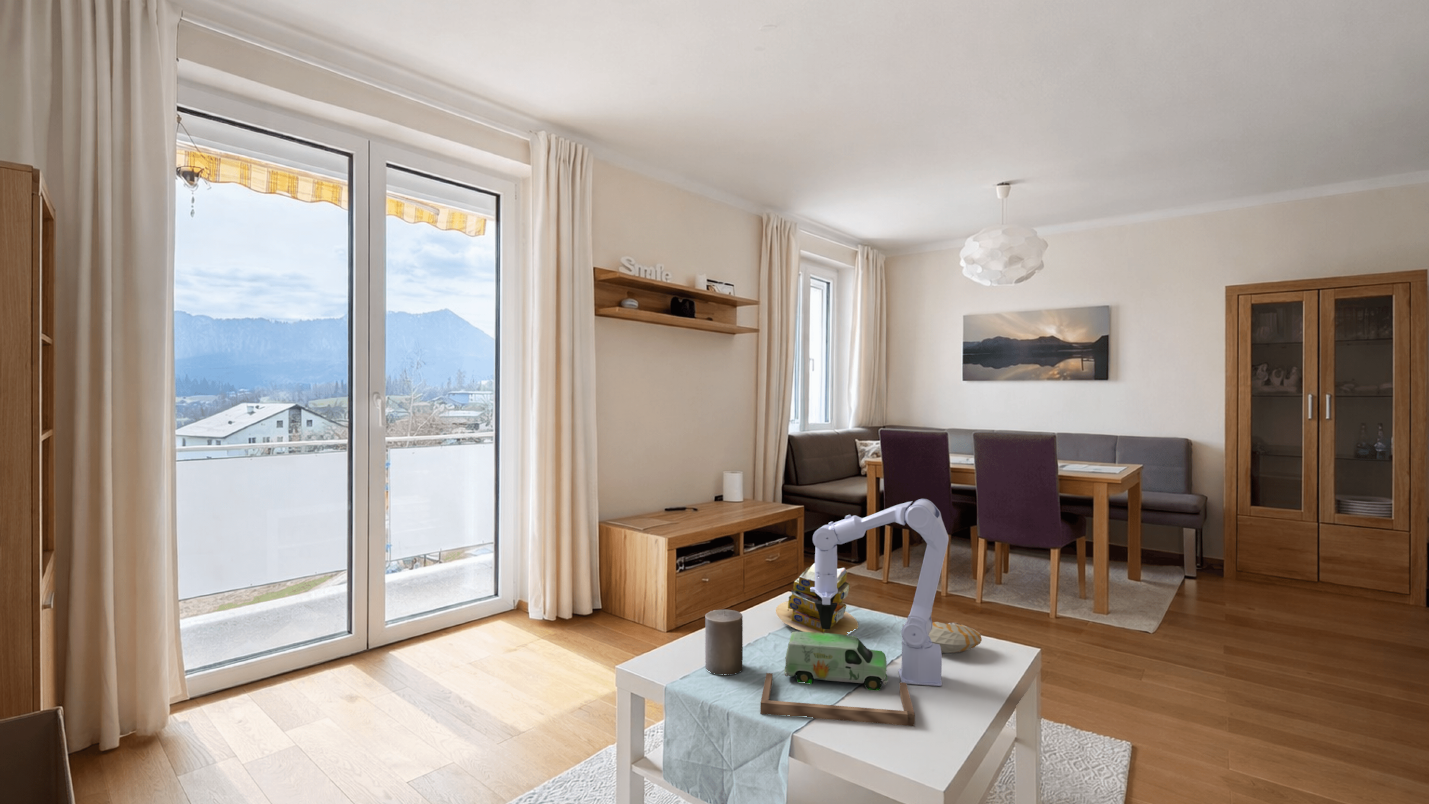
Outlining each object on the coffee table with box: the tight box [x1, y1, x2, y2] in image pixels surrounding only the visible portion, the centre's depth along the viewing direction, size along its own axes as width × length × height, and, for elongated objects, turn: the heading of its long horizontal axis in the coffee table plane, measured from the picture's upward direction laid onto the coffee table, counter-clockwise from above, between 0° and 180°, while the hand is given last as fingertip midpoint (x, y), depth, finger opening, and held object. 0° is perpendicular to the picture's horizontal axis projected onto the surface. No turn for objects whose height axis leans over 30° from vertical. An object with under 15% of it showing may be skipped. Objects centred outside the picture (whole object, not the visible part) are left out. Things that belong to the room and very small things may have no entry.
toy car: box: [783, 631, 888, 692], centre depth 173 cm, size 11×25×10 cm, turn 79°
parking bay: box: [759, 672, 916, 727], centre depth 160 cm, size 33×16×2 cm, turn 81°
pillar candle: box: [704, 609, 744, 676], centre depth 179 cm, size 10×10×15 cm
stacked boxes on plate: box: [775, 562, 859, 635], centre depth 212 cm, size 25×25×17 cm
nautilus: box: [928, 621, 983, 654], centre depth 193 cm, size 8×22×15 cm
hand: (825, 623), depth 183 cm, fingers open, 7 cm apart
